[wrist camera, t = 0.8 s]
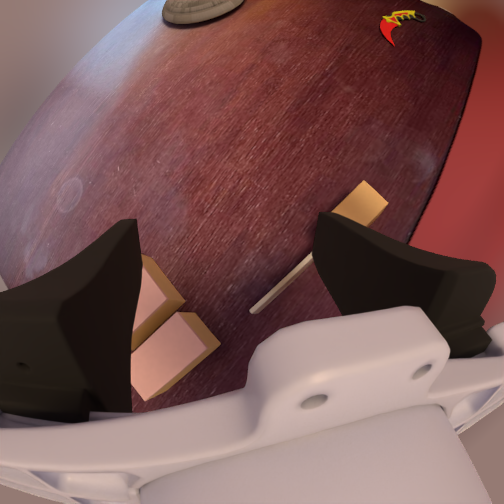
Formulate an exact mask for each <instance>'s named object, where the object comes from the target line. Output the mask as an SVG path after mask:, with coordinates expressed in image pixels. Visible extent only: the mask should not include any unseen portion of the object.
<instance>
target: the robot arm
mask: <svg viewBox="0 0 504 504" xmlns="http://www.w3.org/2000/svg"><path fill="white" fill-rule="evenodd" d="M312 258H313V260H314V263H315V266H316V268H317V271H318V273H319V275H320V277H321V279H322V280H323V282H324V284H325V286H326V287H327V289H328V291H329V293H330V294H331V296H332V298H333V300H334V301H335V303H336V305H337V307H338V308H339V310H340V312H341V314H342V316H340V317H333V318H326V319H319V320H311V321H304V322H301V323H298V324H295V325H291V326H288V327H285V328H281V329H279V330H278V331H277V332H275V333H274V334H272V335H271V336H270V337H268V338H267V339H266V340H264V341H263V342H261V343H260V344H259V345H258V346H257V347H256V349H255V351H254V353H253V355H252V357H251V359H250V361H249V364H248V375H247V382H246V385H245V387H244V388H241V389H238V390H235V391H231V392H228V393H224V394H221V395H217V396H213V397H210V398H206V399H202V400H198V401H194V402H190V403H186V404H182V405H178V406H173V407H169V408H164V409H160V410H155V411H150V412H145V413H132V398H131V343H132V333H133V326H134V320H135V315H136V310H137V305H138V300H139V295H140V290H141V283H142V269H143V262H142V255H141V249H140V242H139V234H138V226H137V219H124V220H120V221H118V222H117V223H116V224H115V225H113V226H112V227H111V228H110V229H109V230H107V231H106V232H105V233H104V234H103V235H101V236H100V237H99V238H98V239H97V240H96V241H94V242H93V243H92V244H90V245H89V246H88V247H87V248H85V249H84V250H83V251H81V252H80V253H79V254H77V255H76V256H75V257H73V258H72V259H70V260H69V261H67V262H65V263H64V264H62V265H61V266H59V267H57V268H55V269H53V270H52V271H50V272H48V273H46V274H44V275H42V276H40V277H38V278H36V279H34V280H32V281H30V282H27V283H25V284H23V285H20V286H18V287H15V288H12V289H9V290H6V291H3V292H0V484H2V485H5V486H8V487H11V488H14V489H17V490H20V491H23V492H26V493H29V494H33V495H36V496H39V497H43V498H46V499H50V500H53V501H57V502H61V503H65V504H492V502H491V500H490V497H489V495H488V493H487V491H486V489H485V487H484V485H483V483H482V481H481V479H480V477H479V475H478V473H477V471H476V469H475V467H474V465H473V463H472V461H471V459H470V457H469V456H468V454H467V452H466V450H465V448H464V446H463V445H462V443H461V441H460V439H459V437H458V434H460V433H461V432H463V431H464V430H466V429H467V428H469V427H470V426H472V425H473V424H474V423H476V422H477V421H479V420H480V419H482V418H483V417H485V416H486V415H487V414H489V413H490V412H491V411H493V410H494V409H496V408H497V407H498V406H500V405H501V404H503V403H504V322H502V323H499V324H497V325H495V326H492V327H491V328H490V329H488V330H487V331H485V330H484V329H483V328H482V326H483V325H484V322H485V321H484V320H483V318H482V317H481V316H480V315H481V313H482V312H483V310H484V308H485V306H486V304H487V303H488V301H489V299H490V297H491V295H492V293H493V290H494V287H495V284H496V274H495V271H494V270H493V269H492V268H491V267H490V266H489V265H488V264H486V263H484V262H478V261H471V260H462V259H457V258H452V257H448V256H443V255H438V254H435V253H432V252H428V251H424V250H421V249H418V248H415V247H412V246H410V245H407V244H404V243H401V242H399V241H396V240H394V239H392V238H389V237H387V236H385V235H383V234H381V233H378V232H376V231H374V230H372V229H370V228H368V227H366V226H364V225H362V224H360V223H358V222H356V221H354V220H351V219H349V218H347V217H345V216H342V215H340V214H337V213H334V212H319V215H318V221H317V227H316V233H315V238H314V244H313V250H312Z"/></svg>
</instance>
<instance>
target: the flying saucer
mask: <svg viewBox="0 0 504 504" xmlns="http://www.w3.org/2000/svg"><path fill="white" fill-rule="evenodd" d="M243 1H244V0H167V1H166V3H165V4H164V7H163V10H162V16H163V18H164V19H165V20H166V21H168V22H171V23H177V24H188V23H196V22H201V21H205V20H209V19H212V18H215V17H218V16H220V15H223V14H225V13H227V12H229V11H231V10H232V9H234V8H236V7H237V6H238V5H240V4H241V3H242V2H243Z"/></svg>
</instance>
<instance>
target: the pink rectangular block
mask: <svg viewBox="0 0 504 504" xmlns="http://www.w3.org/2000/svg"><path fill="white" fill-rule="evenodd" d="M141 255H142V262H143V269H142V283H141V290H140V295H139V300H138V305H137V310H136V315H135V320H134V326H133V333H132V343H131V351H132V350H135V349H136V348H137V347H138V346H139V345H140V344H141V343H142V342H143V341H144V340H145V339H146V338H148V337H149V336H150V335H151V334H152V333H153V332H154V331H155V330H156V329H157V328H158V327H159V326H160V325H161V324H162V323H163V322H165V321H166V320H167V319H168V318H169V317H170V316H171V315H172V314H173V313H174V312H175V311H176V310H177V309H178V308H179V307H180V306H182V305H183V304H184V303H185V300H184V299H183V297H182V296H181V295H180V294H179V292H178V291H177V290H176V289H175V287H174V286H173V285H172V283H171V282H170V281H169V280H168V278H167V277H166V276H165V274H164V273H163V272H162V271H161V269H160V268H159V267H158V265H157V264H156V263H155V261H154V260H153V259H152V258H151V257H148V256H146V255H143V254H141Z"/></svg>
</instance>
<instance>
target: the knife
mask: <svg viewBox="0 0 504 504" xmlns="http://www.w3.org/2000/svg"><path fill="white" fill-rule="evenodd" d="M415 14H418V15H420V16H422V17H423V18H424V20H420V19H418V18H416V17H415ZM411 18H413V19H416V20H418V21H421V22H425V21H426V18H425V16H424V15H421V14H419V13H417V12H415V11H398V12H393V13H391V15H389V16H383V18H382V19H383V20H382V21H381V24H380V29H381V31H382V33H383V35H384V36H385V37H386V39H387V40H388V41H389V42H390V43H392V44H393V45H394V43H393V41H392V39H391V30H392V29H393V28H394V27H396V26H398V27H400V26H401V24H400V23H399V22H398V20H402V21H403V20H404V19H409V20H410V19H411ZM394 46H395V45H394Z"/></svg>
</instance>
